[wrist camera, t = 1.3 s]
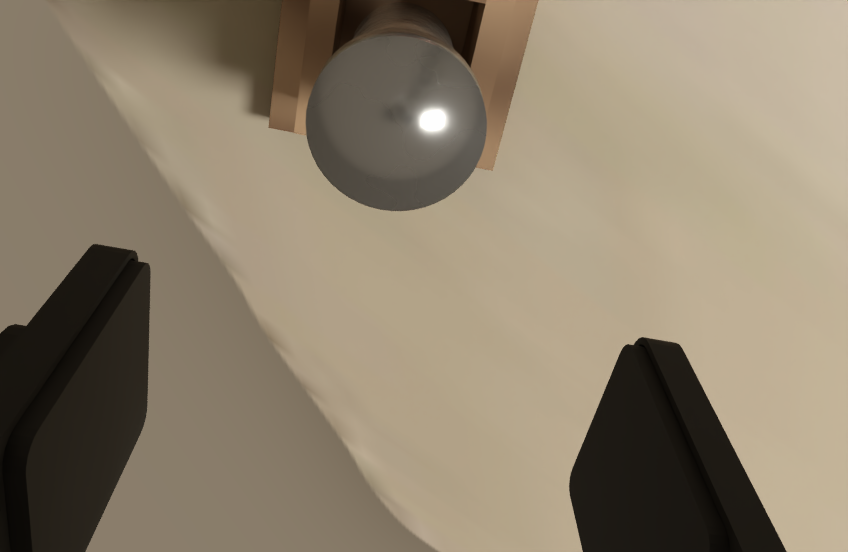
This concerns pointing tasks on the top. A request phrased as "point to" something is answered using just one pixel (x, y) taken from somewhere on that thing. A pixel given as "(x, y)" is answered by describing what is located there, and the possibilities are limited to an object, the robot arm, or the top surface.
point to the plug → (397, 112)
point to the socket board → (452, 3)
